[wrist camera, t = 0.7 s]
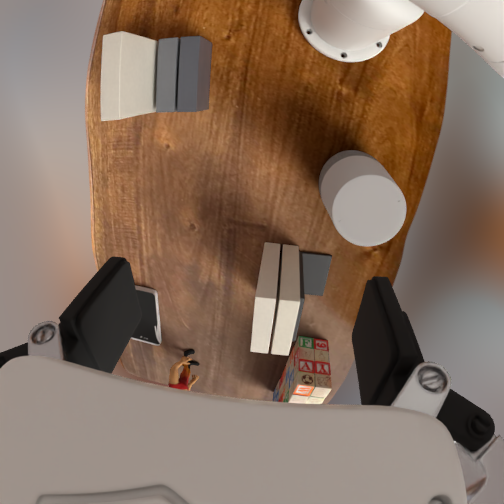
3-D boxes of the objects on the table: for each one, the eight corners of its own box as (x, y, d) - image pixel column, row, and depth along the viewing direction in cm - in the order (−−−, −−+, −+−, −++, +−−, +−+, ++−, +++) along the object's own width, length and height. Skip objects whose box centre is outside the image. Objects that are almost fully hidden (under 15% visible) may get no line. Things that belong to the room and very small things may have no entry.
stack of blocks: (297, 396, 68) (296, 438, 57) (273, 392, 68) (268, 435, 57) (328, 339, 57) (332, 389, 46) (298, 334, 57) (297, 385, 46)
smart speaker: (368, 138, 38) (403, 159, 26) (386, 196, 42) (419, 238, 29) (307, 159, 41) (315, 188, 28) (328, 215, 44) (341, 264, 32)
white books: (264, 242, 48) (255, 296, 36) (332, 249, 47) (344, 306, 35) (259, 292, 53) (250, 351, 41) (321, 299, 52) (326, 359, 40)
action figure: (203, 370, 66) (188, 423, 53) (189, 369, 67) (172, 421, 54) (194, 343, 62) (174, 399, 49) (178, 342, 62) (157, 397, 49)
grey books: (136, 49, 34) (115, 45, 29) (212, 43, 33) (200, 35, 28) (134, 111, 39) (114, 115, 34) (208, 109, 38) (196, 111, 33)
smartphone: (154, 293, 55) (160, 346, 62) (157, 289, 56) (162, 342, 63) (120, 285, 55) (129, 338, 62) (122, 281, 56) (131, 334, 63)
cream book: (155, 47, 34) (102, 35, 22) (171, 45, 34) (122, 30, 22) (152, 110, 39) (100, 121, 27) (168, 109, 39) (119, 119, 27)
